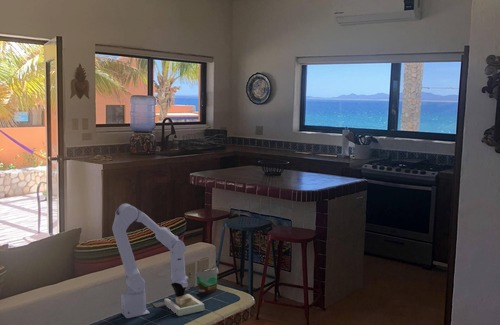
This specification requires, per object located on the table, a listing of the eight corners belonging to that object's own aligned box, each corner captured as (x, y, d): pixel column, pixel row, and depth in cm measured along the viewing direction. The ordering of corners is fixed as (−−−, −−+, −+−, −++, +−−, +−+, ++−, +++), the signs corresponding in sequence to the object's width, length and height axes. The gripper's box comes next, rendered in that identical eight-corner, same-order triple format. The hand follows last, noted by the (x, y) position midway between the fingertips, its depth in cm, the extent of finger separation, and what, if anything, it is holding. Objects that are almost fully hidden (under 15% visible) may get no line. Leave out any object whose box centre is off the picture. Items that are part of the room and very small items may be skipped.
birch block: (180, 309, 217) (180, 300, 216) (176, 306, 221) (175, 297, 221) (192, 307, 219) (191, 297, 219) (187, 304, 223) (186, 294, 223)
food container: (207, 296, 233) (205, 273, 232) (196, 293, 237) (195, 271, 236) (225, 288, 243) (224, 266, 242) (215, 286, 246) (213, 264, 246)
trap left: (156, 308, 221) (156, 307, 221) (152, 304, 225) (151, 303, 225) (166, 305, 223) (166, 305, 223) (162, 302, 228) (162, 301, 228)
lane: (178, 316, 210) (178, 309, 209) (164, 304, 224) (164, 298, 224) (204, 310, 215) (204, 304, 215) (189, 299, 229) (188, 293, 229)
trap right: (190, 300, 228) (190, 300, 228) (185, 297, 232) (185, 296, 232) (200, 298, 230) (199, 297, 230) (195, 295, 235) (195, 294, 235)
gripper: (193, 270, 218) (195, 302, 219) (180, 262, 230) (182, 293, 231) (177, 273, 214) (179, 306, 215) (165, 265, 227) (167, 297, 228)
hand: (180, 300), depth 223 cm, fingers closed
